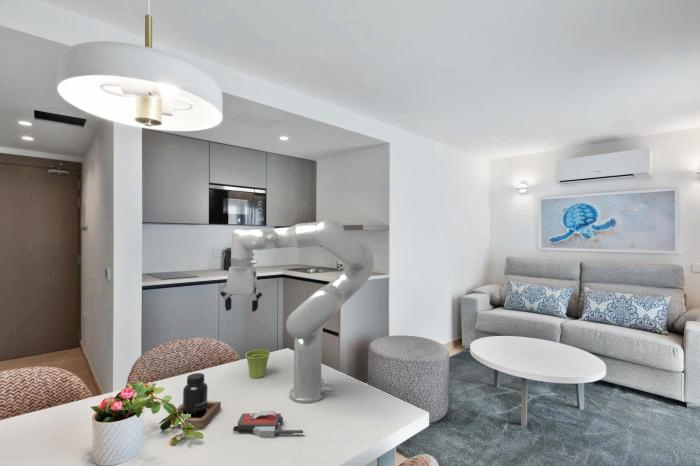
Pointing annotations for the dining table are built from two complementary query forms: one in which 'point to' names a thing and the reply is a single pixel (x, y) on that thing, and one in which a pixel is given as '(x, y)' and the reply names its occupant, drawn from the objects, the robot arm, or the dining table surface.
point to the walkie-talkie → (262, 424)
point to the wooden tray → (202, 422)
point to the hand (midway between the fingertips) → (241, 310)
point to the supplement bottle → (195, 396)
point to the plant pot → (257, 362)
